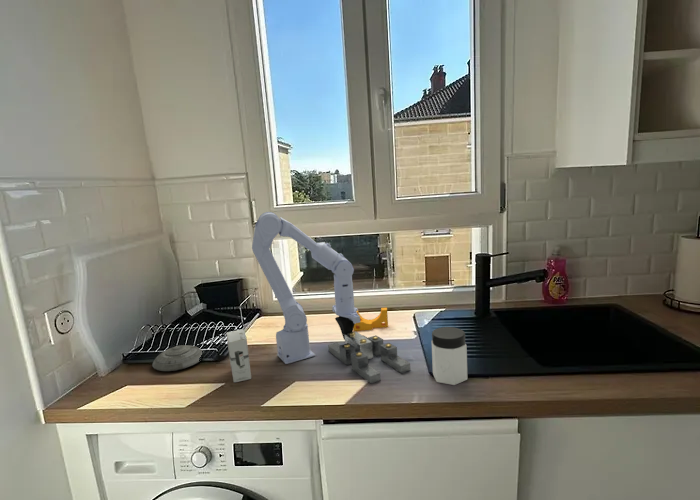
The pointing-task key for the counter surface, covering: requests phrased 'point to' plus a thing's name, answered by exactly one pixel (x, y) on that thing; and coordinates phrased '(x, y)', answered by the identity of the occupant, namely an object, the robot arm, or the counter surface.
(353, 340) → the block with brass knobs
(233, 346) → the ink box
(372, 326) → the pipe clamp
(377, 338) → the chain end
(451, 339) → the jar
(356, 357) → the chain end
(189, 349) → the flying saucer
